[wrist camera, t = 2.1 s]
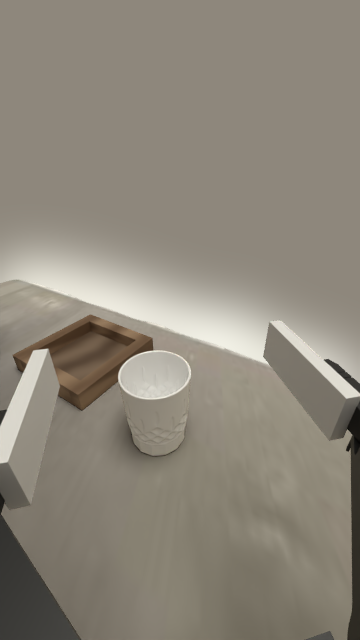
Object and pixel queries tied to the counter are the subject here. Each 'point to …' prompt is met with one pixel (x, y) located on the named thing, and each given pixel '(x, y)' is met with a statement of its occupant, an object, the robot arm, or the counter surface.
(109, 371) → the wooden tray
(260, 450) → the counter surface
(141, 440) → the white cup
